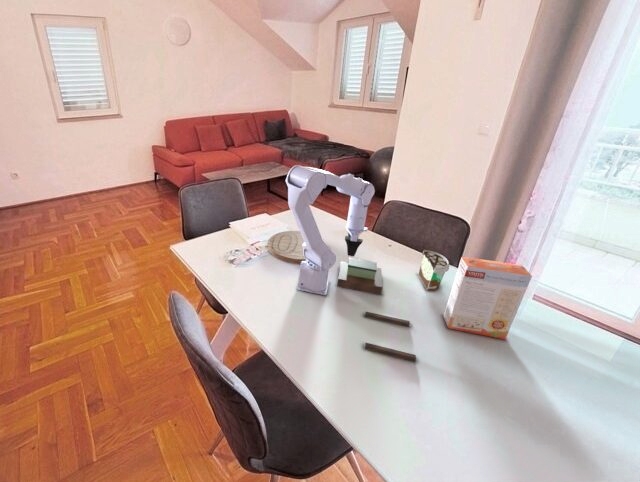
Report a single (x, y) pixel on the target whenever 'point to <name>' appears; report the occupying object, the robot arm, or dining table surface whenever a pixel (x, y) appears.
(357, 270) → the box
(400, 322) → the bay rails
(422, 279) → the food container
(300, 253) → the trivet
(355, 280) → the white-topped slab
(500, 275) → the cracker box
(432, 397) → the dining table surface
